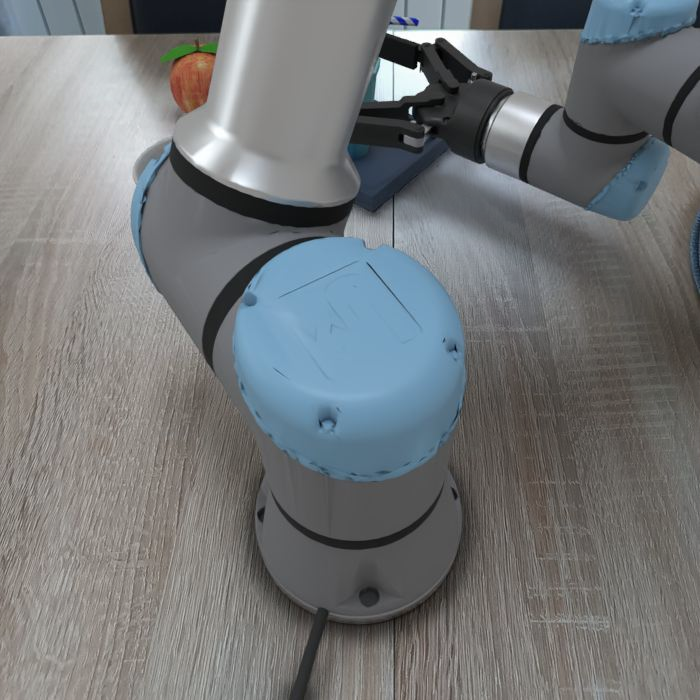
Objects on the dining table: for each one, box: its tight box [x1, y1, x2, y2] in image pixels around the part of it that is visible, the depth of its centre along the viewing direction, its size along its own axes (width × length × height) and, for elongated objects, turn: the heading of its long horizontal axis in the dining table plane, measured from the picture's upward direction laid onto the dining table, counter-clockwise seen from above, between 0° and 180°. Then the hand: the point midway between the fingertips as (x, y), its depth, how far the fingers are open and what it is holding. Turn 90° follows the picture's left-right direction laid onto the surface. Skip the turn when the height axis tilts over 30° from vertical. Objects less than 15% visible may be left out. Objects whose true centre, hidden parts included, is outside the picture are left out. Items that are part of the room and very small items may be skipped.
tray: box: [352, 99, 450, 213], centre depth 79 cm, size 16×18×2 cm
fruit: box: [159, 37, 219, 114], centre depth 81 cm, size 9×10×10 cm
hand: (332, 64), depth 73 cm, fingers open, 13 cm apart
